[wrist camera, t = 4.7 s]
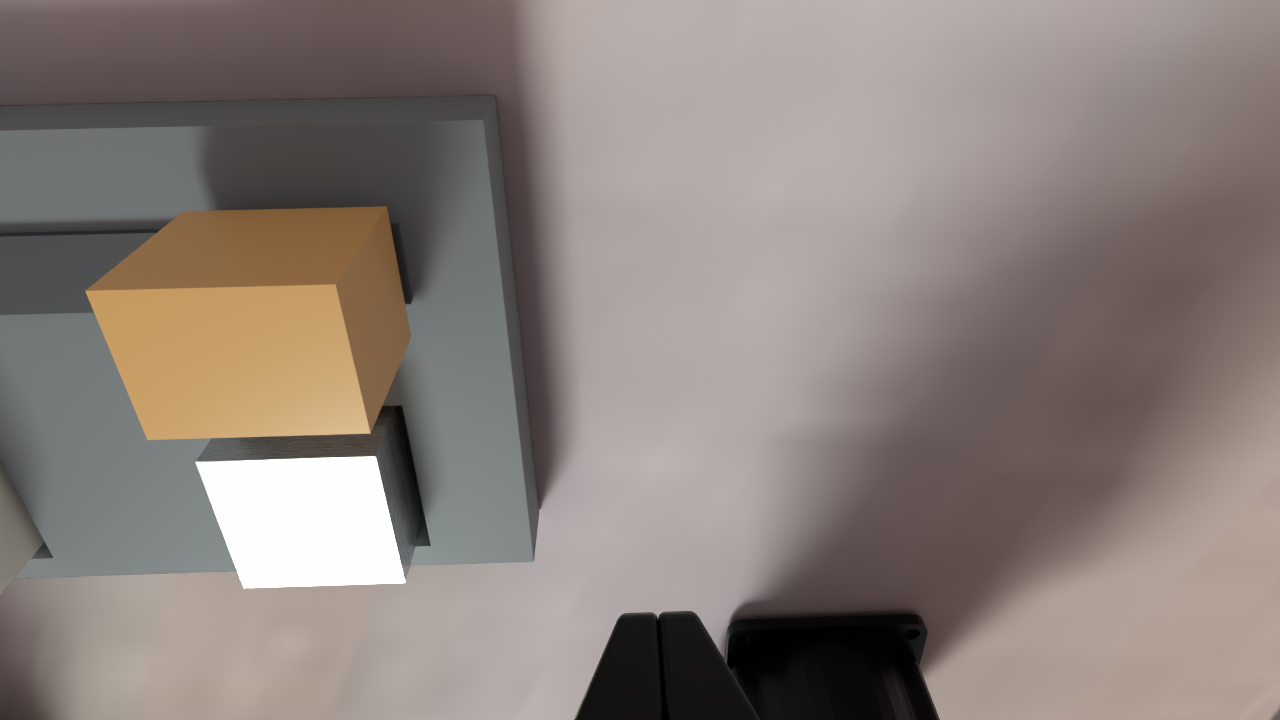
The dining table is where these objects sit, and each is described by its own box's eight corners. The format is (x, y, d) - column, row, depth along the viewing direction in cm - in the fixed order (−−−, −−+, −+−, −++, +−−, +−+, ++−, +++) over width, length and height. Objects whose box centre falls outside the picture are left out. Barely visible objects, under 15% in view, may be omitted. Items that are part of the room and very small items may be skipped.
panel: (495, 95, 17) (481, 122, 16) (539, 511, 24) (532, 567, 22) (-450, 115, 17) (-581, 146, 15) (-152, 533, 23) (-218, 591, 22)
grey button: (406, 378, 21) (375, 456, 18) (429, 497, 23) (405, 582, 20) (249, 382, 21) (195, 462, 18) (287, 501, 23) (243, 587, 20)
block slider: (386, 206, 16) (335, 283, 13) (411, 337, 18) (370, 433, 15) (183, 211, 16) (85, 290, 13) (226, 342, 18) (147, 440, 15)
